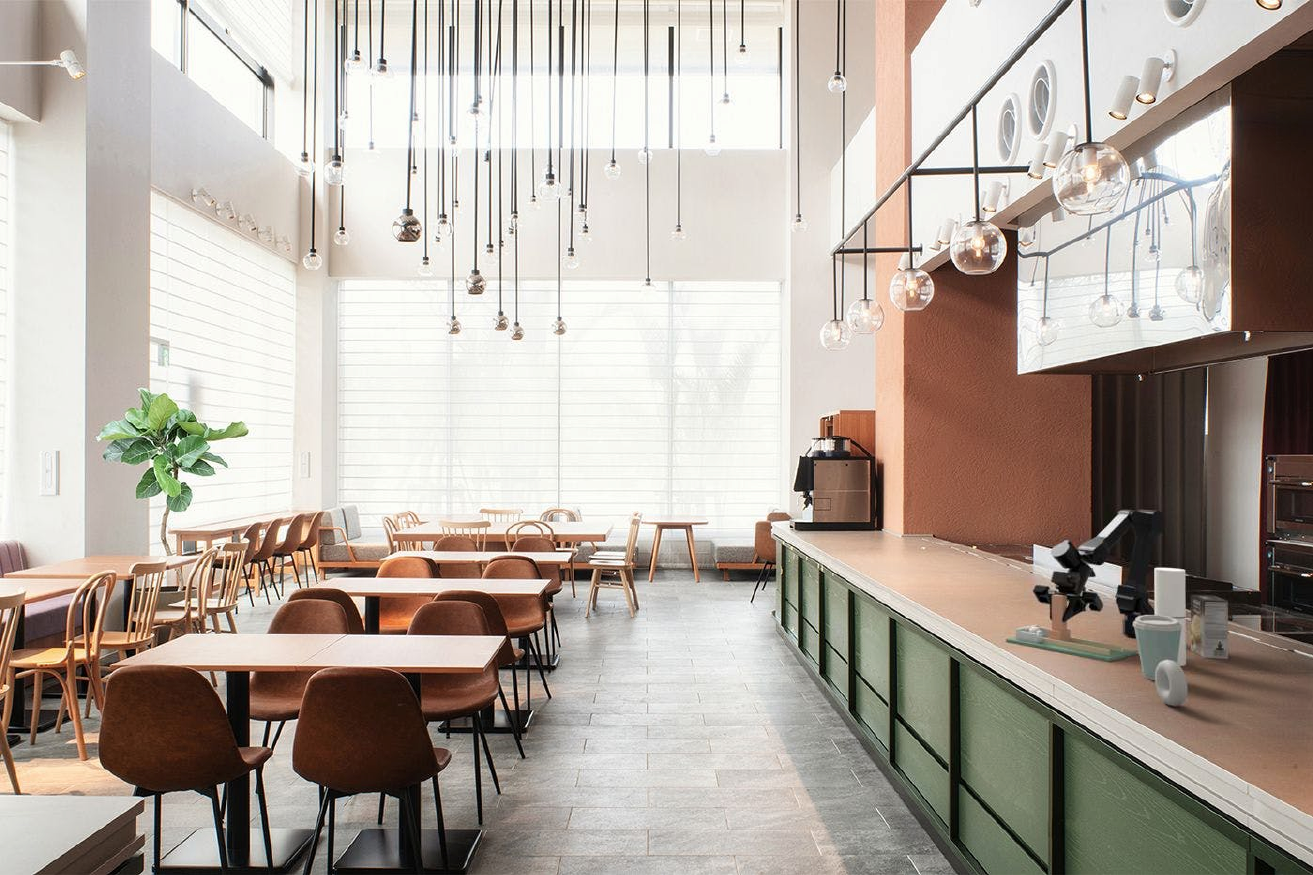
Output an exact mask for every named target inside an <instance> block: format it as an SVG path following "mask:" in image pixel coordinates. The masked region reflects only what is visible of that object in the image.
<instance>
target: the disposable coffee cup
mask: <svg viewBox="0 0 1313 875" xmlns="http://www.w3.org/2000/svg"><path fill="white" fill-rule="evenodd" d="M1133 626H1134V629H1135V634H1136V637H1135V638H1136V644H1137V647H1138V648H1137V649H1138V654H1139V658H1140V663H1141V664H1140V665H1141V669H1142V674H1143V675H1144V677H1145V678H1146V679H1147V680H1151V681H1155V672H1156V668H1157V666H1158V664H1159V663H1160V662H1162V661H1164V660H1171V661H1174V662H1176V663H1177V658H1178V650H1179V643H1180V635H1181V629H1182V625H1180V624H1179V621H1178V620H1176V619H1175V618H1171V617H1168V616H1159V615H1144V616H1138V617H1137V618H1135V621H1134V622H1133Z"/></svg>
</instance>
